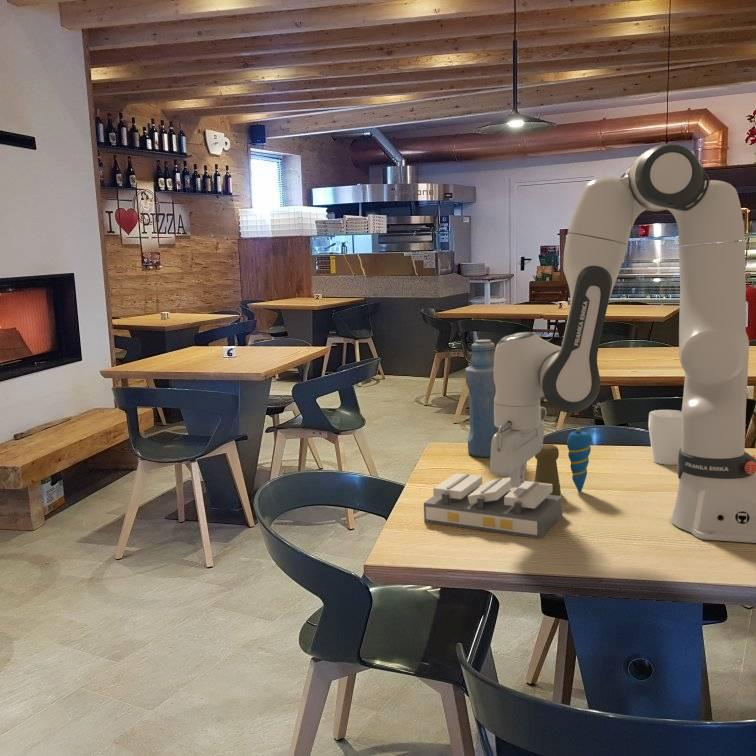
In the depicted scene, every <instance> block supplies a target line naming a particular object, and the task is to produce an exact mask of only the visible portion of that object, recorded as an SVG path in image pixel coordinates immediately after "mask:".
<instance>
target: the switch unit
mask: <svg viewBox="0 0 756 756" xmlns="http://www.w3.org/2000/svg"><path fill="white" fill-rule="evenodd" d="M479 487H481V485H480V486H478V487H477V488H476V489H474V490H473V491H472V492H474V491H475V490H477V489H478V488H479ZM512 490H513V489H510V490H509V491H508V492H506V493H505V494H504V495H503V496H502V497H500V498H499V499H498V500H493V501H486V502H484V498H479V497H478V498H477V503H473V504H470V503H469V500H468V495H470V494H471V493H472V492H470V493H469V494H468V495H466V496H465V497H463V498H462V499H455V498H449V494H447V493H442V497H440V496H434V495H433V496H431V497H430V498H428V499H427V500H426V501H424V502H423V517H424V518H423V519H424V523H430V524H437V525H442V526H443V525H444V526H448V527H449V526H450V527H457V528H463V529H470V530H477V531H485V532H490V533H498V534H499V533H500V534H503V535H511V536H517V537H526V538H532V539H538V540H541V538H542V537H543V536H544V535H546V533H547V532H548V531H549V530H550V529H551V528H552V527H553V526H554V525H555V523H557V521H559V519H561V518H562V516H563V495H561V496H556V495H549V496H547V497H546V498H545V499H544V500H543V501H542V502H541V503H540V504H539V505H538V506H537V507H536V508H535V509H534V508H526V507H521V503H519V502H515V503H514V506H510V505H504V496H506V495H507V494H508V493H509V492H511V491H512Z"/></svg>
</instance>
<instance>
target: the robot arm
mask: <svg viewBox="0 0 756 756" xmlns="http://www.w3.org/2000/svg"><path fill="white" fill-rule="evenodd" d="M659 211H660V212H661V211H669V212H670V213H671V215H672V216H673V217H674V219H675V221H676V224H677V225H676V226H677V229H678V238H677V239H678V266H679V268H678V269H679V286H680V287H679V315H678V316H679V317H678V319H679V323H678V352H679V353H678V356H679V357H678V358H679V362H680V365H681V367H682V369H683V370H684V381H683V383H684V384H683V395H682V405H681V411H682V422H681V448H680V450H679V454H678V464H677V476H678V479H679V480H678V487H677V493H676V498H675V503H674V508H673V511H672V514H671V516H670V522H671V523H672V524H673V525H674V526H676V527H677V528H678V529H681V530H683V531H686V532H689V533H691V534H692V535H694V536H695V537H696V538H697V539H700V540H707V541H724V542H734V543H736V542H737V543H738V542H739V543H751V544H756V456H755V454H752V455H751V454H749V453H748V452H746V451H745V449H746V448H745V444H746V441H745V440H746V420H747V419H746V416H747V415H746V412H747V397H748V396H747V395H748V394H747V393H748V375H749V356H750V355H749V354H750V340H749V336H748V333H747V332H746V331H747V329H746V327H747V324H746V323H747V322H746V320H747V319H746V317H747V316H746V311H747V310H746V309H747V307H746V306H747V305H746V302H747V301H746V300H747V297H746V295H747V294H746V293H747V285H746V281H747V279H746V251H745V249H746V245H745V244H746V243H745V227H744V216H743V211H742V207H741V202H740V198H739V195H738V191H737V189H736V188H735V187H734V186H733V185H732V184H730V183H729V182H726V181H722V180H716V179H714V180H713V179H711V180H710V177H709V175H708V174H707V172H706V171H705V169H704V168H703V166H702V165H701V163H700V161H699V160H698V158H697V157H696V156H695V154H694V153H693V152H692V151H691V150H690V149H689V148H688V147H686V146H684V145H681V144H678V143H672V142H671V143H670V142H669V143H668V142H667V143H666V142H665V143H662V144H658V145H656V146H653V147H651V148H650V149H647V150H646V151H645V152H643V153H641V154H640V155H639V156H638V158H636V159H635V161H634V162H633V163H632V164H631V165H630V166H629V167H628V168H627V170H626V171H625V172H624V173H623V174H622V175H621V176H620V178H619V177H618V178H616V177H610V176H609V177H607V176H604V177H603V176H602V177H599V178H596V179H593V180H590V181H588V183H587V184H586V185H585V186H584V188H583V190H582V192H581V194H580V196H579V199H578V201H577V203H576V206H575V208H574V211H573V214H572V217H571V219H570V224H569V226H568V231H567V234H566V238H565V244H564V249H563V250H564V251H563V267H562V269H563V273H564V276H565V279H566V282H567V284H568V285H567V286H568V290H569V297H570V298H569V299H570V301H569V302H570V303H569V311H568V315H567V319H566V320H567V321H566V324H565V328H564V329H565V330H564V334H563V338H562V342H561V346H559V345H557V344H556V345H555V344H553V343H551V342H549V341H547V340H545V339H543V338H542V337H540V336H539V335H537V334H536V333H535V332H532V331H523V332H516V333H512V334H508V335H505V336H504V337H501V339H499V341H498V342H497V344H496V345H495V356H494V383H495V386H496V394H495V398H494V425H495V426H496V427H498V433H496V434H495V435H494V436H493V438H492V443H491V456H490V457H489V459H490V461H489V469H490V471H491V474H492V475H495V476H503V477H510V478H511V486H512V487H513V488H515V487H516V488H518V487H520V486H521V485H522V484H523V483H524V481H525V474H526V471H527V467H528V466H527V465H528V462H529V461H530V460H531V459H532V458H535V455H536V454H538V453H539V452H540V451H541V449H542V445H543V444H544V432H545V422H544V420H545V419H547V409H546V407H544V406H541V399H542V398H543V397H544V398H545V399H546V401H547V403H548V404H549V405H550V406H551V407H552V408H554V409H555V410H557V411H560V412H562V413H567V414H568V413H569V414H573V413H579V412H582V411H583V410H586V409H588V408H589V407H591V405H593V404H594V402H595V401H596V399H598V396H599V393H600V391H601V377H600V372H599V366H598V354H599V348H600V342H601V338H602V333H603V328H604V324H605V320H606V314H607V310H608V305H609V302H610V298H611V295H612V293H613V290H614V287H615V283H616V282H617V279H618V276H619V274H620V271H621V269H622V265H623V263H624V259H625V255H626V253H627V249H628V244H629V241H630V237H631V233H632V229H633V226H634V224H635V221H636V219H637V218H638V217H639V216H640V215H641V214H642V213H655V212H659Z"/></svg>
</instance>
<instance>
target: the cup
mask: <svg viewBox="0 0 756 756" xmlns="http://www.w3.org/2000/svg"><path fill="white" fill-rule="evenodd" d="M681 422H682V410H677V409H657V410H656V409H655V410H651V411H649V413H648V424H647V425H648V432H649V441H650V446H651V455H652V456H651V457H652V461H653V462H654V463H655V464H658V463H659V464H660V465H663V464H664V465H665V466H666V465H667V466H673V465H674V466H676V465H678V454H679V450H680V448H681Z"/></svg>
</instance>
